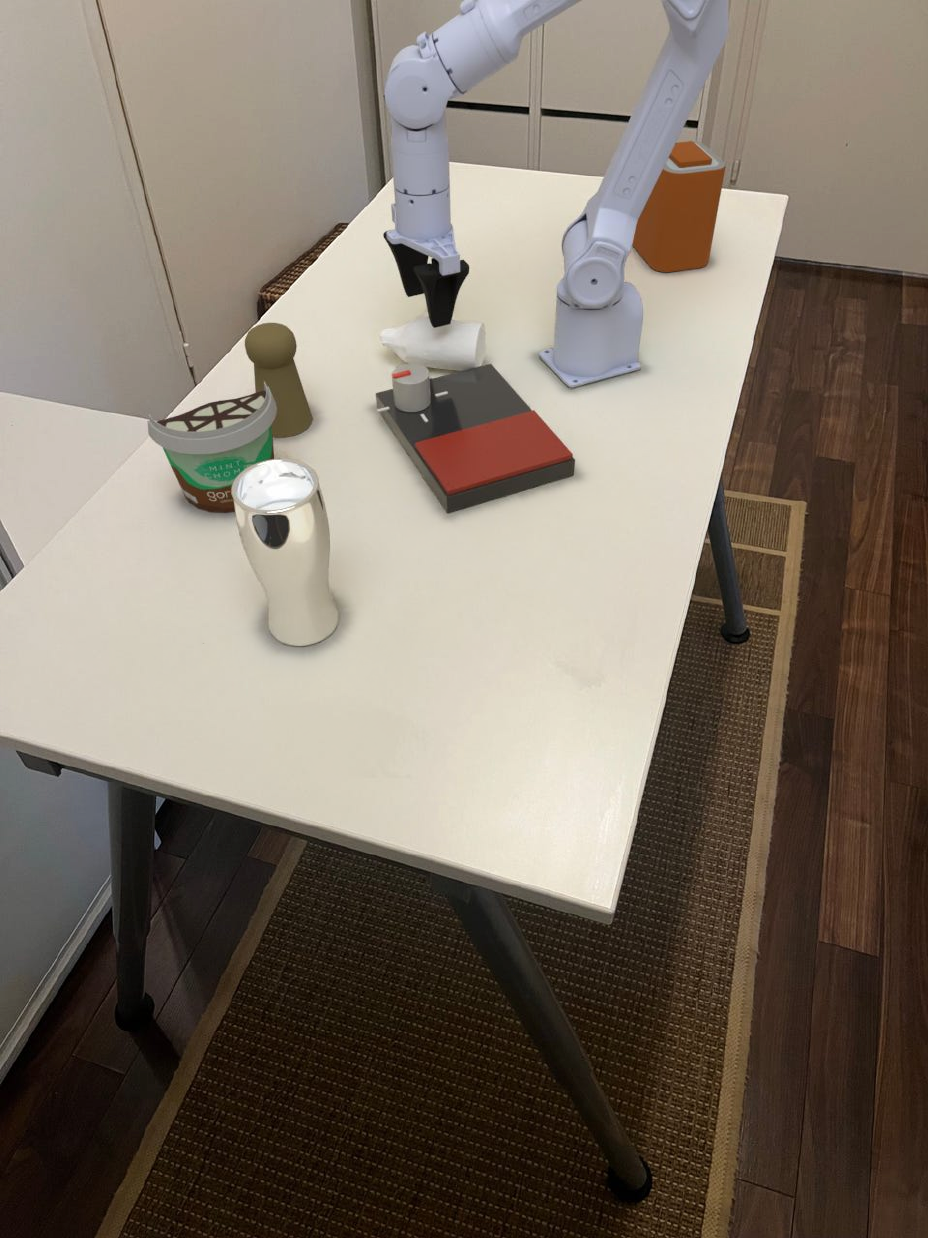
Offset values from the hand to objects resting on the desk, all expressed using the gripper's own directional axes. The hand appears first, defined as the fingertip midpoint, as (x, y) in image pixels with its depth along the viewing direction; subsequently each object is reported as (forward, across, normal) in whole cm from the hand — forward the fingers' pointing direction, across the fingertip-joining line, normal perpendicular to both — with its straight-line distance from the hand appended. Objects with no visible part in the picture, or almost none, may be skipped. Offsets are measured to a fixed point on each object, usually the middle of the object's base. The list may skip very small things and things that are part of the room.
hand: (427, 308), depth 104 cm
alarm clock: (+7, -14, +41) cm, 44 cm away
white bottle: (+7, 0, 0) cm, 7 cm away
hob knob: (+5, +9, -6) cm, 12 cm away
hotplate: (+5, +22, -2) cm, 22 cm away
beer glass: (+7, +34, -26) cm, 43 cm away
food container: (+7, +15, -27) cm, 32 cm away
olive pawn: (+7, +4, -19) cm, 21 cm away
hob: (+7, +16, -2) cm, 18 cm away
